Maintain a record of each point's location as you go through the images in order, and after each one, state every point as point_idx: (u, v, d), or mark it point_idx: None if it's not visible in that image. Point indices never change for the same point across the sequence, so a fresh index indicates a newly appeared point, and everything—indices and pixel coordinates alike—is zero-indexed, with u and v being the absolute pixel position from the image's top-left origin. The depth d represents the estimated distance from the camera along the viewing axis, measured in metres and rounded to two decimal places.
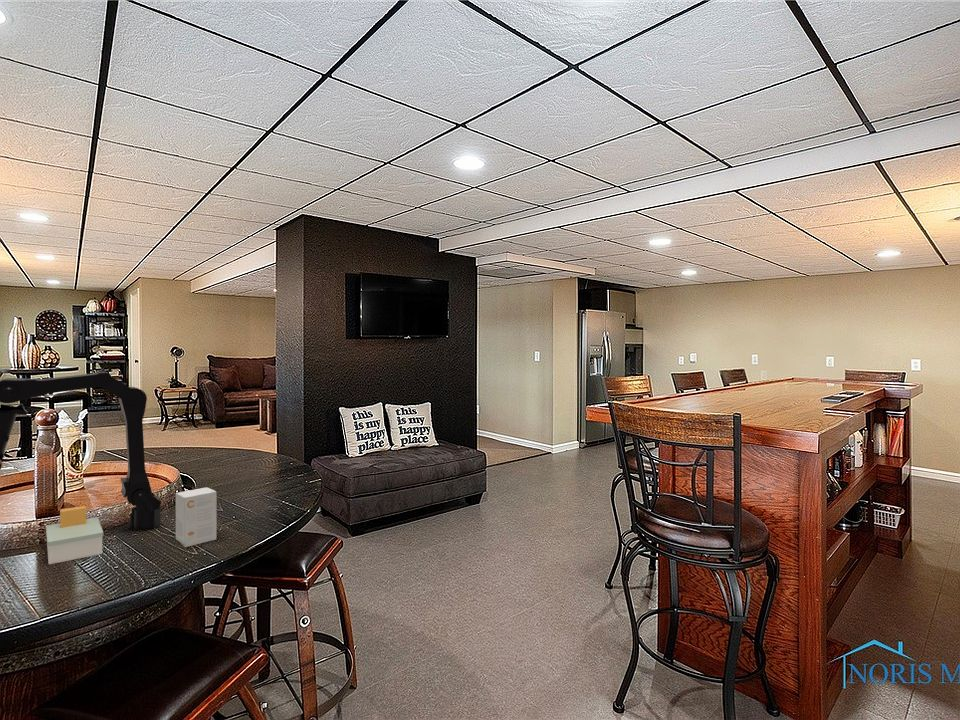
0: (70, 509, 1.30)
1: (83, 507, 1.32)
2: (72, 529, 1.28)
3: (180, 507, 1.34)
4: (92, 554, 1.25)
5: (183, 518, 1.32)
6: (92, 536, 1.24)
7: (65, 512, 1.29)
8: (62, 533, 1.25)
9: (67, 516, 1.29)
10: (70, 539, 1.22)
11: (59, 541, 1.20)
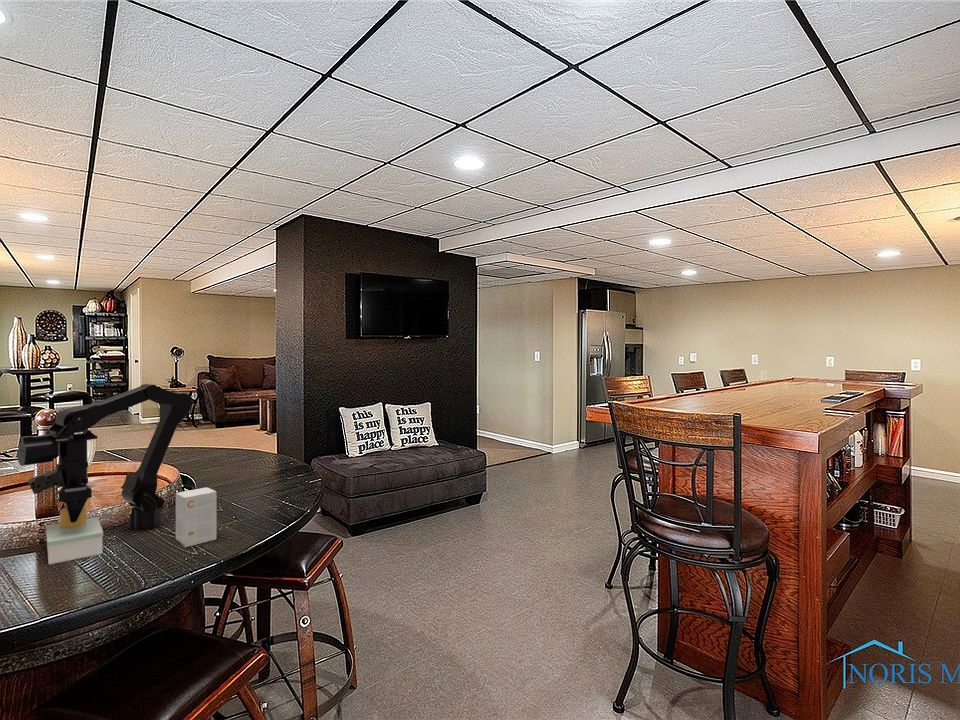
0: None
1: (83, 507, 1.32)
2: (72, 529, 1.28)
3: (180, 507, 1.34)
4: (92, 554, 1.25)
5: (183, 518, 1.32)
6: (92, 536, 1.24)
7: (65, 512, 1.29)
8: (62, 533, 1.25)
9: (67, 516, 1.29)
10: (70, 539, 1.22)
11: (59, 541, 1.20)
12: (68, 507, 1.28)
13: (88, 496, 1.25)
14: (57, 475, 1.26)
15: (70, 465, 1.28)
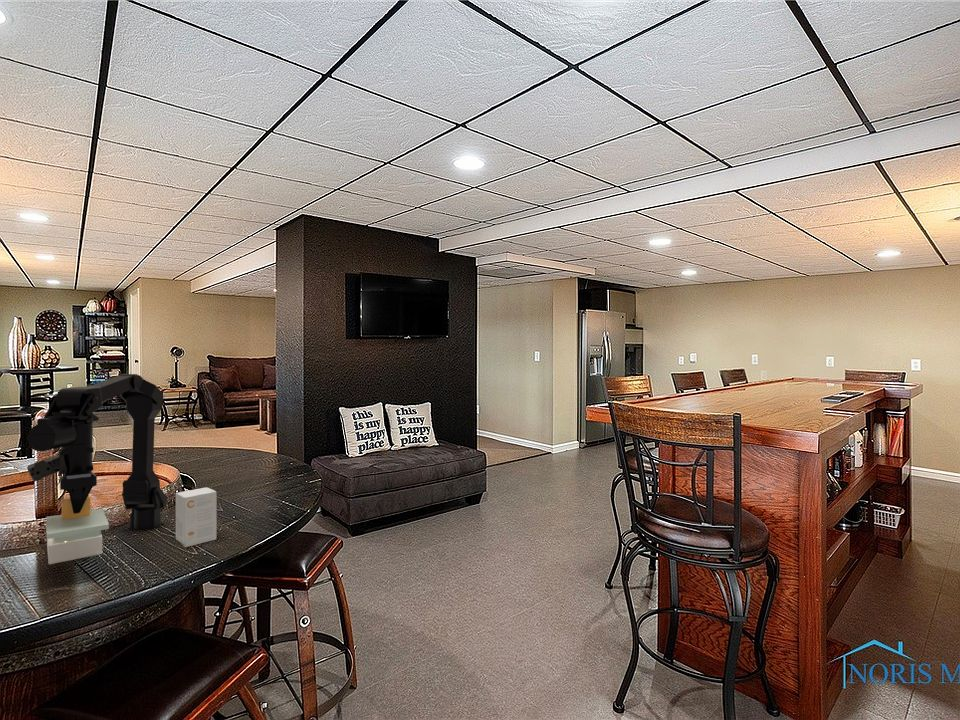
0: None
1: (87, 497, 1.20)
2: (74, 520, 1.15)
3: (180, 507, 1.34)
4: (92, 554, 1.25)
5: (183, 518, 1.32)
6: (96, 528, 1.12)
7: (67, 502, 1.16)
8: (63, 525, 1.12)
9: (69, 507, 1.17)
10: (72, 531, 1.09)
11: (60, 533, 1.08)
12: (71, 497, 1.15)
13: (93, 484, 1.13)
14: (59, 461, 1.14)
15: (73, 449, 1.16)
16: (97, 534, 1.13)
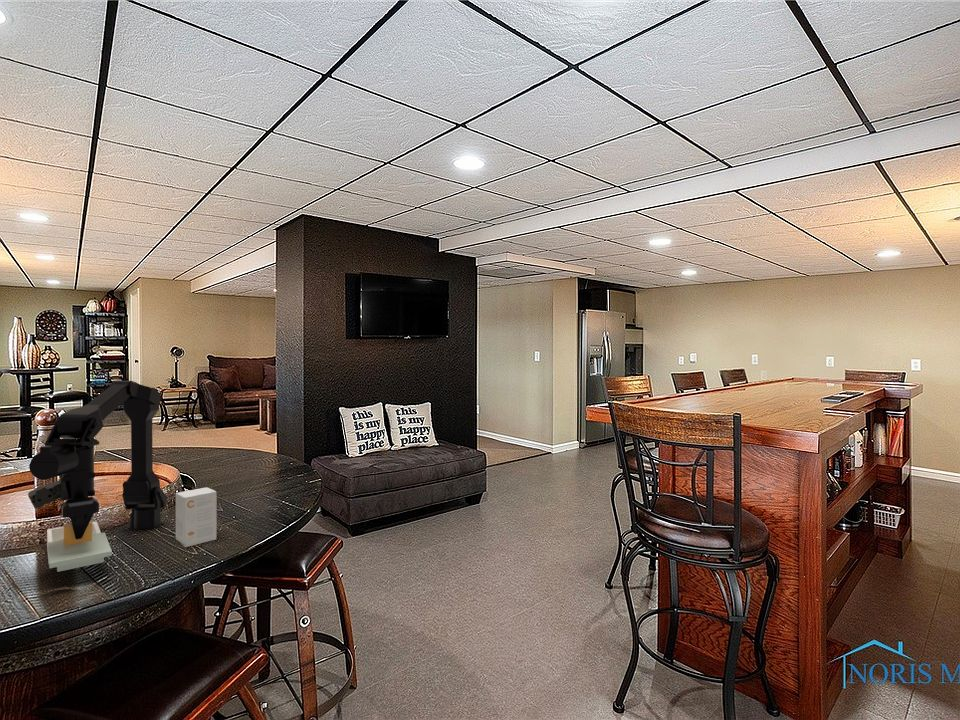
0: None
1: (89, 522, 1.19)
2: (76, 547, 1.14)
3: (180, 507, 1.34)
4: None
5: (183, 518, 1.32)
6: (99, 555, 1.11)
7: (69, 528, 1.15)
8: (65, 552, 1.11)
9: (71, 533, 1.16)
10: (75, 559, 1.08)
11: (62, 562, 1.07)
12: (73, 523, 1.15)
13: (95, 511, 1.12)
14: (60, 487, 1.13)
15: (74, 475, 1.15)
16: (100, 561, 1.12)
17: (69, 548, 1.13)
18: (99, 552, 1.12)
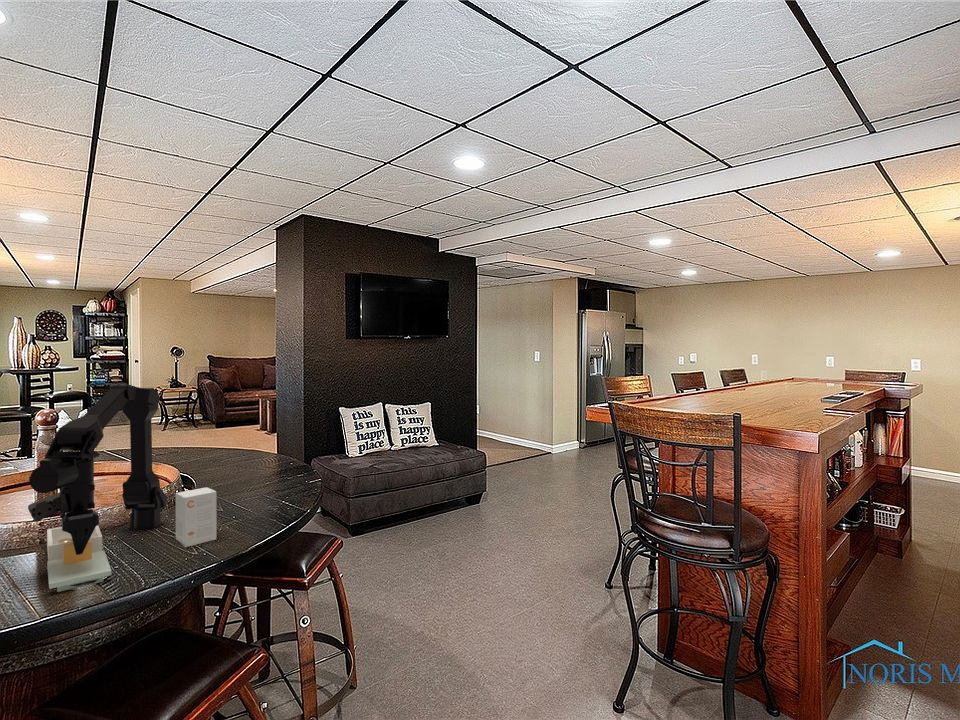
0: None
1: None
2: (76, 566, 1.15)
3: (180, 507, 1.34)
4: None
5: (183, 518, 1.32)
6: (99, 575, 1.11)
7: (69, 547, 1.16)
8: (65, 571, 1.12)
9: (71, 552, 1.16)
10: (74, 580, 1.09)
11: (62, 582, 1.07)
12: (73, 538, 1.13)
13: (95, 524, 1.12)
14: (60, 500, 1.13)
15: (74, 488, 1.15)
16: (99, 581, 1.12)
17: (69, 567, 1.14)
18: (99, 572, 1.12)
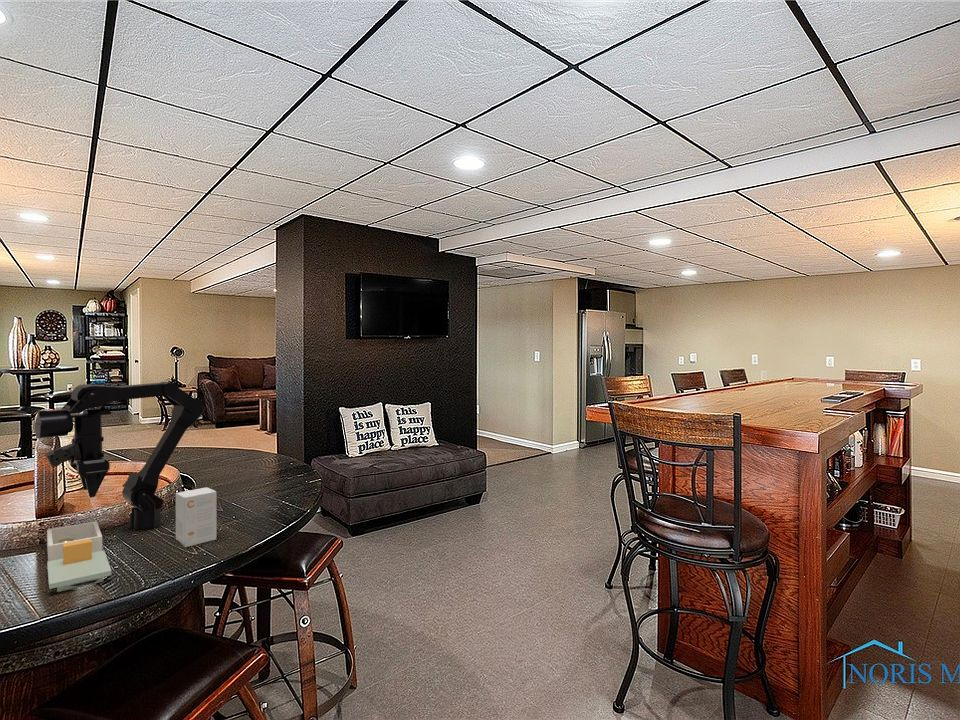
0: (74, 543, 1.17)
1: (88, 540, 1.19)
2: (76, 566, 1.15)
3: (180, 507, 1.34)
4: None
5: (183, 518, 1.32)
6: (99, 575, 1.11)
7: (69, 547, 1.16)
8: (65, 571, 1.12)
9: (71, 552, 1.16)
10: (74, 580, 1.09)
11: (62, 582, 1.07)
12: (87, 482, 1.29)
13: (106, 468, 1.29)
14: (74, 449, 1.30)
15: (86, 438, 1.31)
16: (99, 580, 1.12)
17: (69, 567, 1.14)
18: (99, 572, 1.12)
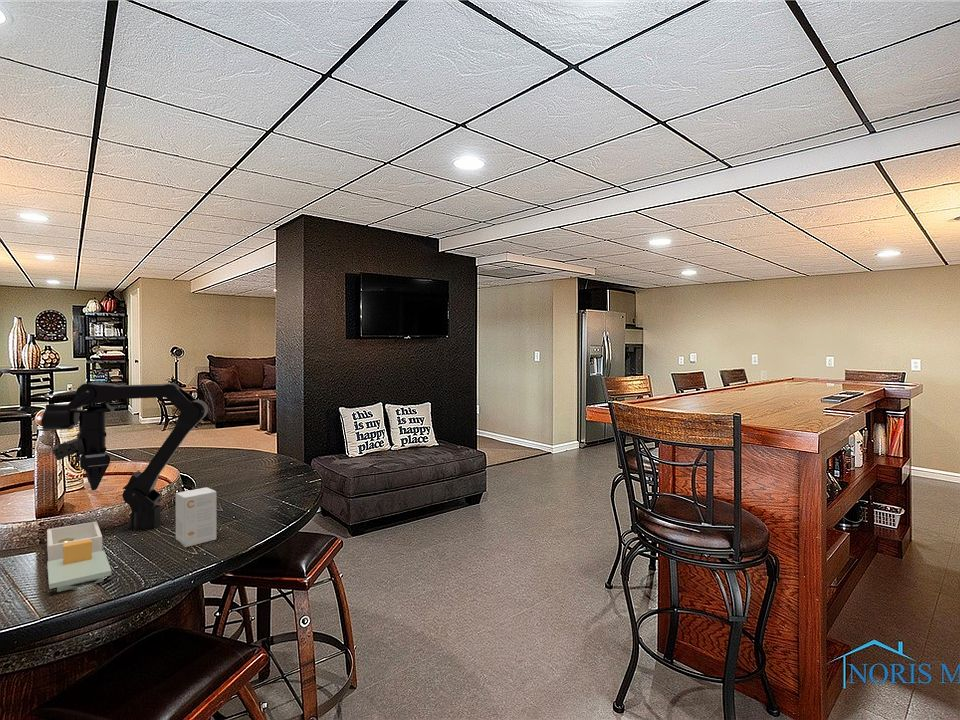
0: (74, 543, 1.17)
1: (88, 540, 1.19)
2: (76, 566, 1.15)
3: (180, 507, 1.34)
4: None
5: (183, 518, 1.32)
6: (99, 575, 1.11)
7: (69, 547, 1.16)
8: (65, 571, 1.12)
9: (71, 552, 1.16)
10: (74, 579, 1.09)
11: (62, 582, 1.07)
12: (89, 475, 1.35)
13: (107, 462, 1.35)
14: (78, 443, 1.36)
15: (89, 434, 1.38)
16: (99, 580, 1.12)
17: (69, 567, 1.14)
18: (99, 572, 1.12)
